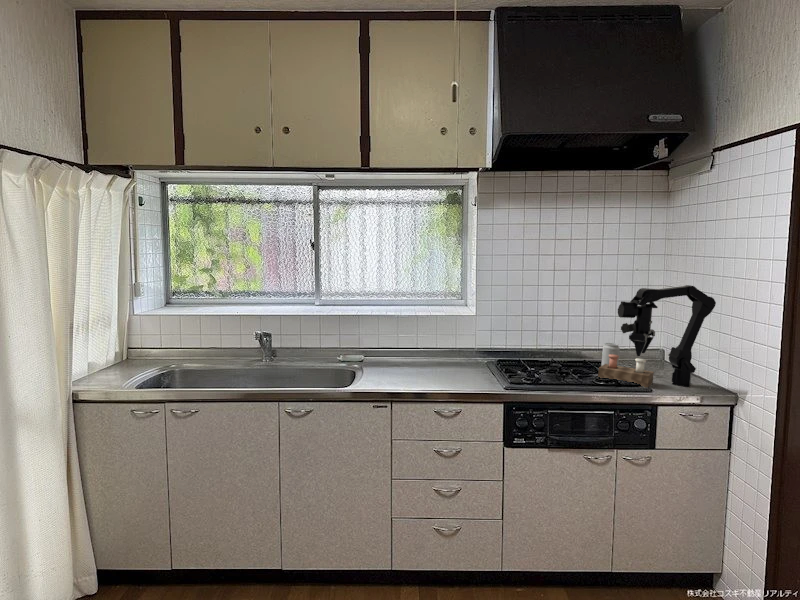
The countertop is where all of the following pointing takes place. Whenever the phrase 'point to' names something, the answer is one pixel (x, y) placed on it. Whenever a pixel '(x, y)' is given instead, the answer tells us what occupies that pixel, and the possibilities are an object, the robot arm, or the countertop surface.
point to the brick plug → (613, 361)
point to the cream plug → (640, 365)
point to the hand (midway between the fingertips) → (640, 354)
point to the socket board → (626, 375)
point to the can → (609, 352)
